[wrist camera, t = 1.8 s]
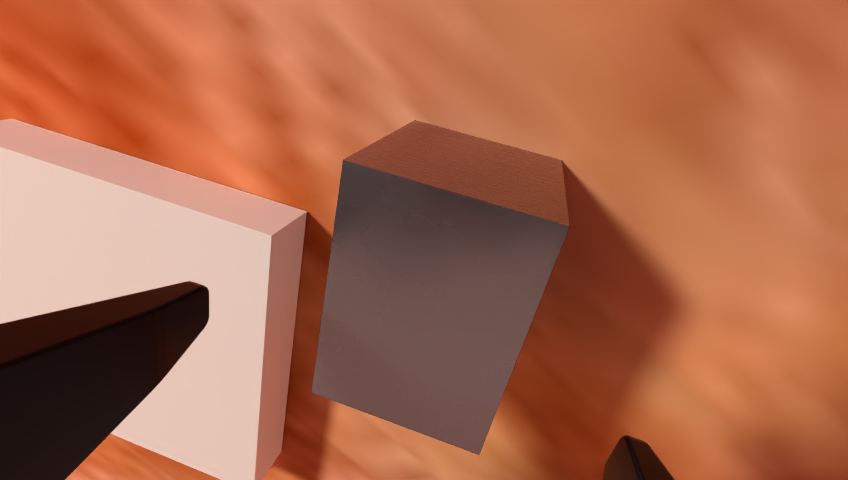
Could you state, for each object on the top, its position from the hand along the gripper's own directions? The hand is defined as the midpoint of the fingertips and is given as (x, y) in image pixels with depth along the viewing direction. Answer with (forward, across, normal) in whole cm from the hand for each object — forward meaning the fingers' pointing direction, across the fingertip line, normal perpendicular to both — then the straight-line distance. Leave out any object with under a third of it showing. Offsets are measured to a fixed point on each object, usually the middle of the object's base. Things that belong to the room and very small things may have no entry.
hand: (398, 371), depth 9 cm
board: (+8, +13, +8) cm, 17 cm away
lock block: (+8, 0, 0) cm, 8 cm away
